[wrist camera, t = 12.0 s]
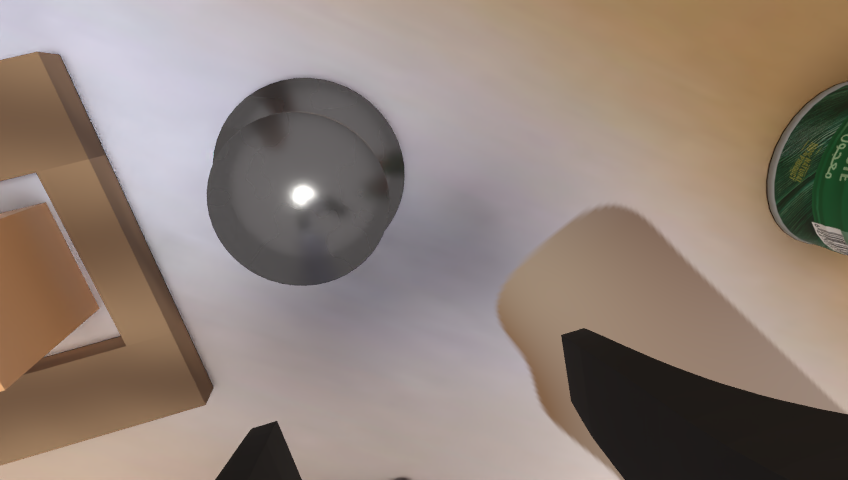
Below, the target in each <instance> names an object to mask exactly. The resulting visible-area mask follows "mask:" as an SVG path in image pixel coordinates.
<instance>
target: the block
mask: <svg viewBox="0 0 848 480" xmlns="http://www.w3.org/2000/svg"><path fill="white" fill-rule="evenodd" d="M98 309H99V307H98V305H97V303H96V301H95V299H94V297H93V295H92V293H91V291H90V289H89V287H88V285H87V283H86V281H85V279H84V277H83V275H82V273H81V271H80V269H79V267H78V265H77V263H76V261H75V259H74V257H73V255H72V253H71V251H70V249H69V247H68V245H67V243H66V241H65V239H64V237H63V235H62V233H61V232H60V230H59V228H58V226H57V224H56V222H55V220H54V218H53V216H52V214H51V212H50V210H49V208H48V206H47V204H46V202H45V203H41V204H37V205H33V206H29V207H24V208H20V209H16V210H12V211H7V212H3V213H0V392H1V391H4V390H6V389H7V388H8V387H9V386H11V385H12V384H13V383H14V382H15V381H16V380H18V379H19V378H20V377H21V376H22V375H23V374H24V373H26V372H27V371H28V370H29V369H30V368H31V367H32V366H34V365H35V364H36V363H37V362H38V361H39V360H41V359H42V358H43V357H44V356H45V355H46V354H47V353H49V352H50V351H51V350H52V349H53V348H54V347H55V346H57V345H58V344H59V343H60V342H61V341H62V340H64V339H65V338H66V337H67V336H68V335H69V334H70V333H72V332H73V331H74V330H75V329H76V328H77V327H78V326H80V325H81V324H82V323H83V322H84V321H85V320H87V319H88V318H89V317H90V316H91V315H92V314H93V313H95V312H96V311H97V310H98Z"/></svg>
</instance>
